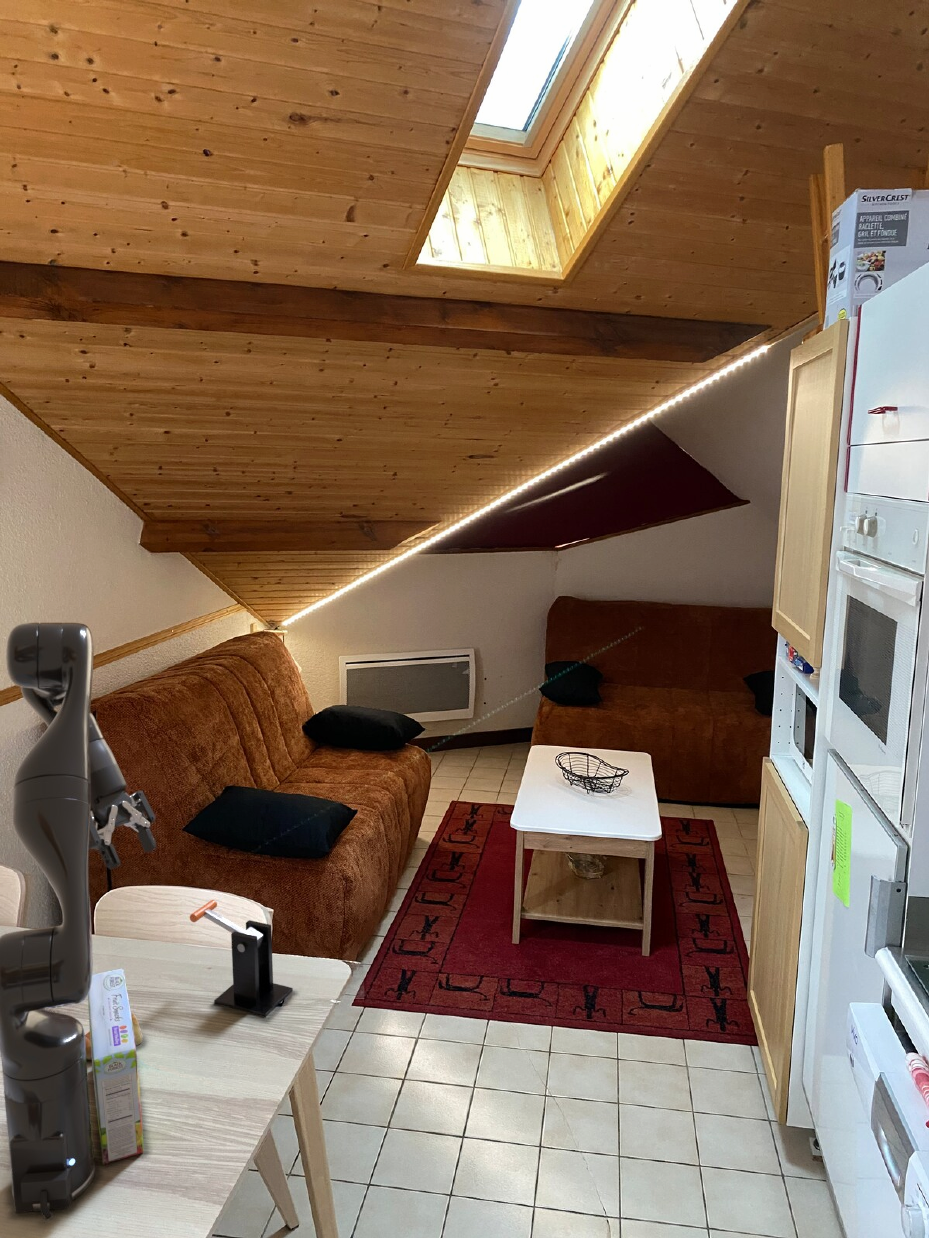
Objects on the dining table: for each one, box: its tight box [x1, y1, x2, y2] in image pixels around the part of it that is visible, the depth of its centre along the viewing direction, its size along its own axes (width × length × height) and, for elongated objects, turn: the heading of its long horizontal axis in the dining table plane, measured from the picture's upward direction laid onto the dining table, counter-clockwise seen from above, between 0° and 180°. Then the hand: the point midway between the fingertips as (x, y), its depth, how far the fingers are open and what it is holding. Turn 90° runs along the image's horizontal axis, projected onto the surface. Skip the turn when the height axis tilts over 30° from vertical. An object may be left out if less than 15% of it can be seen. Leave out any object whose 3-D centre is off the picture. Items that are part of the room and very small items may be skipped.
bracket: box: [213, 919, 294, 1018], centre depth 150 cm, size 10×8×13 cm
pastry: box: [85, 1012, 144, 1061], centre depth 138 cm, size 9×7×4 cm
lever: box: [189, 899, 264, 948], centre depth 150 cm, size 12×6×2 cm, turn 68°
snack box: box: [87, 967, 145, 1165], centre depth 124 cm, size 21×6×15 cm, turn 25°
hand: (134, 858), depth 152 cm, fingers open, 8 cm apart
